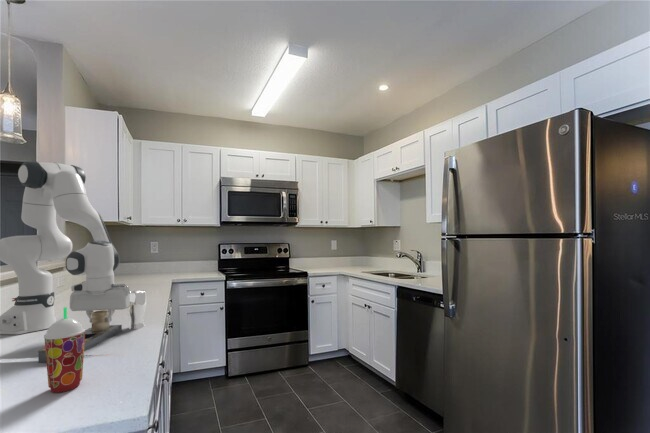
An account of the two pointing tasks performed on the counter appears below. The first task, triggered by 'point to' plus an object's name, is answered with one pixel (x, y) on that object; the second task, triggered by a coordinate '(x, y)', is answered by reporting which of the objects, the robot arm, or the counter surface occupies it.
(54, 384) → the smoothie
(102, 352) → the counter surface
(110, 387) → the counter surface
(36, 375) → the counter surface
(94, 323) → the beech peg
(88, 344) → the socket rail
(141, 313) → the beer glass
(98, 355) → the counter surface
